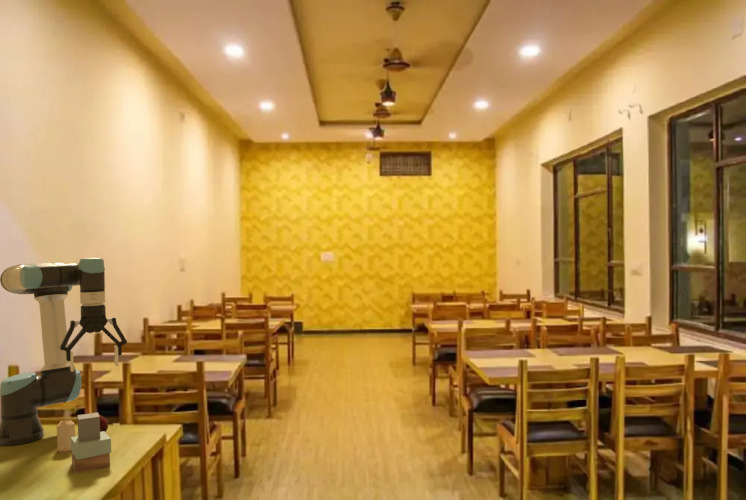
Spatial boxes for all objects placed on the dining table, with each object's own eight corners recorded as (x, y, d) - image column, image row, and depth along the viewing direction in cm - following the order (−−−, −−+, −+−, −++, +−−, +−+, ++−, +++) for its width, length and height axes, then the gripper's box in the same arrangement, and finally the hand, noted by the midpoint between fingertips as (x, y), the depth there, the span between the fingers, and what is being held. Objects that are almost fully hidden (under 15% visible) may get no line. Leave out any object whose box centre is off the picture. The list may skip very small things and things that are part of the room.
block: (78, 437, 197) (77, 415, 197) (98, 433, 200) (97, 412, 200) (79, 442, 192) (78, 419, 192) (100, 438, 194) (99, 416, 194)
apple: (82, 436, 227) (81, 414, 227) (104, 431, 232) (103, 410, 232) (89, 440, 221) (88, 418, 221) (111, 435, 226) (110, 414, 226)
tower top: (71, 451, 197) (70, 437, 197) (104, 444, 202) (104, 431, 202) (76, 459, 189) (76, 445, 189) (111, 452, 194) (110, 438, 194)
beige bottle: (68, 452, 209) (67, 422, 209) (53, 451, 210) (52, 422, 210) (79, 447, 214) (77, 418, 214) (65, 446, 215) (64, 418, 215)
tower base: (72, 464, 197) (71, 450, 197) (105, 458, 202) (105, 444, 202) (75, 474, 189) (74, 459, 189) (110, 467, 194) (109, 453, 194)
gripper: (51, 308, 194) (53, 375, 195) (134, 302, 207) (136, 365, 208) (49, 306, 201) (51, 370, 201) (131, 300, 214) (132, 361, 214)
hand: (94, 368), depth 204 cm, fingers open, 13 cm apart
